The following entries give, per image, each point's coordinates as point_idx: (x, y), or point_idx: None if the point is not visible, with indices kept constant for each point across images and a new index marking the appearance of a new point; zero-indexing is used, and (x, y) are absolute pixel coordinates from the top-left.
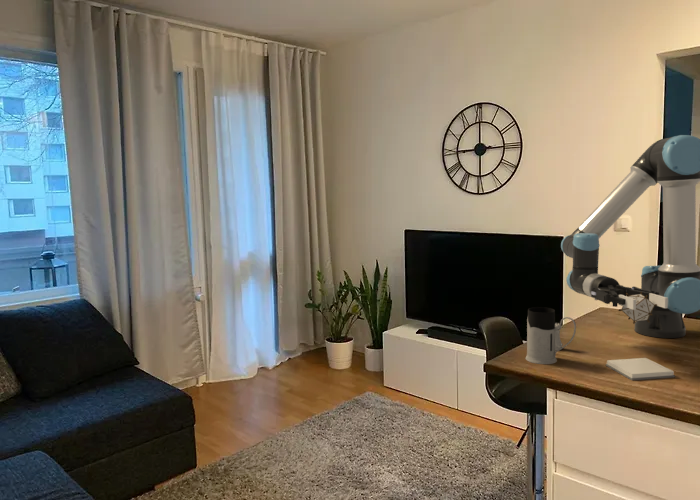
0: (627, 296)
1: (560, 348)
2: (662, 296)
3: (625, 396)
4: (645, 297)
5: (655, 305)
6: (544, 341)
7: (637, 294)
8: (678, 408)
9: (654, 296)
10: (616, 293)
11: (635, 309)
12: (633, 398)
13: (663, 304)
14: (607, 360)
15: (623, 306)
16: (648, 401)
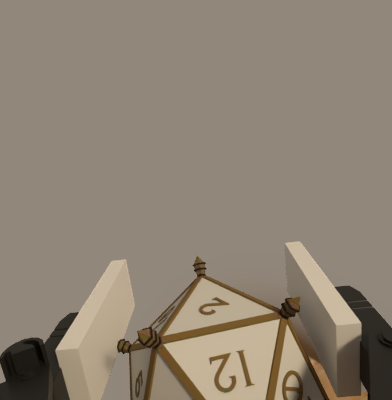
0: (289, 321)
1: None
2: (100, 280)
3: (363, 391)
4: (203, 274)
5: (128, 345)
6: None
7: (194, 330)
8: None
9: (101, 318)
10: (372, 395)
11: (288, 290)
12: None
13: (129, 297)
14: None
15: (321, 387)
16: (315, 365)
